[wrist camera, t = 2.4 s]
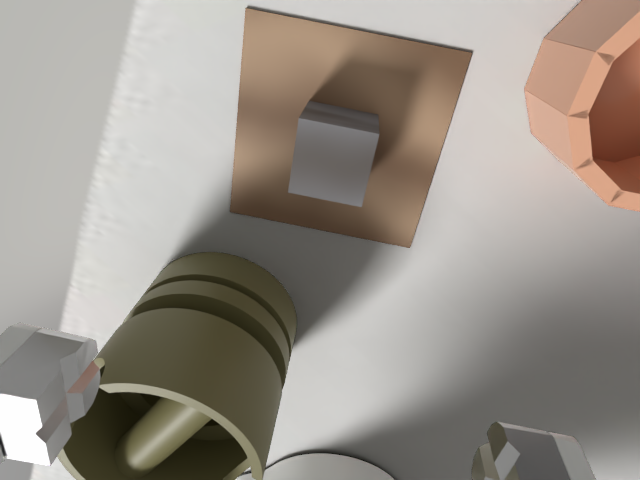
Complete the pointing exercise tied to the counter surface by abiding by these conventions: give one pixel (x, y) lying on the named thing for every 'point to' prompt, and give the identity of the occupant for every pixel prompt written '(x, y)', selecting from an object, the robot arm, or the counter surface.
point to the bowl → (592, 98)
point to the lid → (340, 126)
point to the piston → (189, 377)
